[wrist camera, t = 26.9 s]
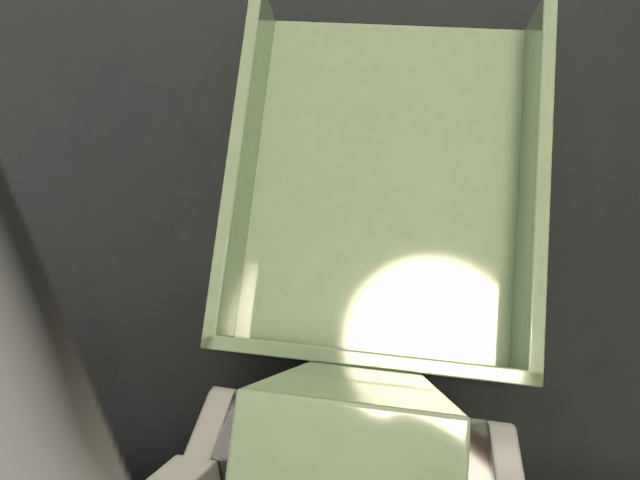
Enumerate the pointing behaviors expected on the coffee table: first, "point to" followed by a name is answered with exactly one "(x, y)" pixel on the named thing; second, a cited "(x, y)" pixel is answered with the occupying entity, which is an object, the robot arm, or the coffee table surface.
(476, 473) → the robot arm
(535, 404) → the coffee table surface
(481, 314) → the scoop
